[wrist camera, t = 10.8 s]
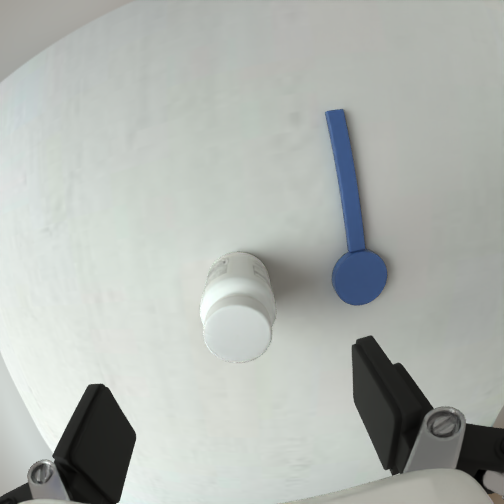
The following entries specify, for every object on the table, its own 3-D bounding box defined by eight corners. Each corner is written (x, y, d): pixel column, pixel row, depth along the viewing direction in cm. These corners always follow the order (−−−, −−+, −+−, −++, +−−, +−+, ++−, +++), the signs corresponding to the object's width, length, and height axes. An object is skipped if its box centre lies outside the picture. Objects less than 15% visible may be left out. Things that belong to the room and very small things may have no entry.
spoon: (303, 114, 20) (306, 113, 19) (360, 108, 20) (364, 106, 19) (334, 306, 24) (338, 311, 23) (383, 293, 23) (388, 298, 23)
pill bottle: (206, 305, 23) (193, 368, 16) (209, 248, 22) (194, 292, 14) (265, 309, 23) (276, 372, 16) (272, 253, 22) (288, 298, 15)
